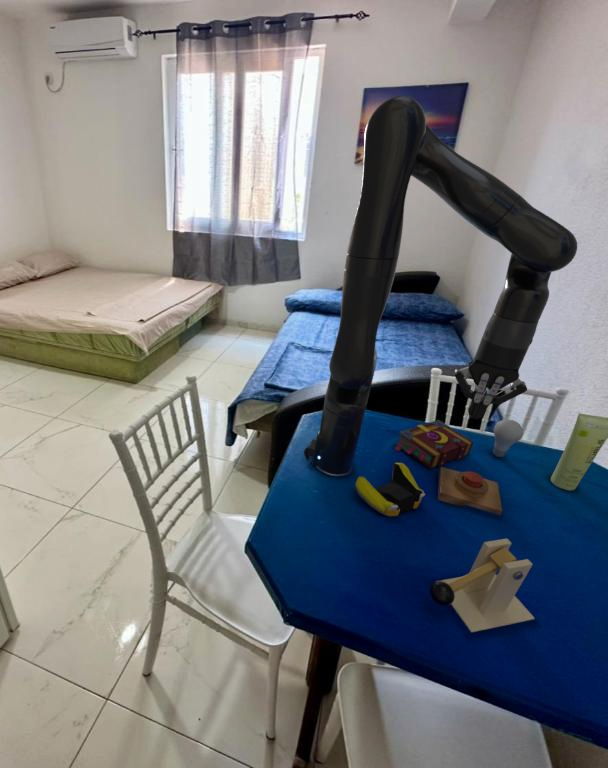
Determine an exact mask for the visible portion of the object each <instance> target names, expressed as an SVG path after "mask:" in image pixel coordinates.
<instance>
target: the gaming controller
mask: <svg viewBox="0 0 608 768" xmlns="http://www.w3.org/2000/svg"><path fill="white" fill-rule="evenodd" d="M391 475H392V476H391V481H390V482H388V483H385V484H383V485H380V486H377V487H374V486H373V485H372V484H371V483H370V481H369V480H367V478H366V477H364V476H358V477H357V479H356V481H355V484H354V485H355V486H354V488H355V490H356V492H357V494H358V496H359V497H360V498H361V499H362V500H363V501H364V502H365V503H366V504H367V505H368V506H369V507H370V508H373V509H374V510H375V511H377V512H378V513H380V514H382V515H383V516H385V517H397V516H399V515H402V514H404V513H406V512H409V511H410V510H413V509H418V507H419V506H420V504H421V502H422V501H423V500H422V499H423V497H424V496H426V493H425V492H424V490H423V489H421V488H420V487H419V486H418V483H417V482H416V480H415V478H414V476H413V474H412V473H411V471H410V468H409V467H408V466H407V465H406V464H404V463H403V462H395V463H394V464H393V466H392V474H391Z"/></svg>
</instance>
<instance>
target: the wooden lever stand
mask: <svg viewBox="0 0 608 768" xmlns="http://www.w3.org/2000/svg"><path fill="white" fill-rule="evenodd" d="M511 546H512V542H511V541H510V540H509V539H508V538H501V539H495V540H488V541H484V542H483V544H482V545H481V547H480V550H479V551H478V554H477V556H476V557H475V560H474V562H473V564H472V566H471V567H470V571H469V573H471V572H472V571H474V570H476V569H478V568H480V567H482V566H484V565H486V564H487V563H489V562H491V558H490V555H491V554H493V553H495V552H497V551H499V550H501V549H503V548H505V547H506V548H507V549H508V550H509V549H510V547H511ZM532 567H533V563H532V562H531V561H530V560H529V559H528V558H526V559H519V560H517V561H514V562H508V563H504V564H503V565H502V567H501V569H500V571H499V570H496V571H494V572H492V573H491V574H489V575H487V576H485V577H483V578H481V579H479V580H477V581H476V582H474V583H472V584H470V585H468V586H466V587H464V588H462V589H460V590H459V591H457V592H455V593H454V594H455V599H454V601H453V603H452V604H451V605H450V606H451V607H452V608H453V609H454V610H455V612H456V614H457V615H458V616H459V617H460V619H461V620H462V622H463V623H464V625H465V627H467V629H468V630H469V632H470V633H477V632H481V631H486V630H491V629H495V628H500V627H504V626H510V625H514V624H518V623H523V622H528V621H533V620H535V617H534V615H532V613H531V612H530V611H529V610H528V608H526V606H525V605H524V604H523V603H522V602H521V600H520V599H518V598H517V596H516V594H517V592H518V591H519V589H520V587H521V585H522V584H523V582H524V581H525V579H526V577H527V576H528V573H529V572H530V570H531V568H532ZM497 572H498V573H497ZM461 577H462V576H457V577H452V578H446V579H441V580H440V581H442V582H445V583H447V584H450V583H452V582H454V581H456V580H457V579H459V578H461ZM437 581H438V580H436V581H435V582H437Z"/></svg>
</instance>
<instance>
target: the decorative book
mask: <svg viewBox="0 0 608 768" xmlns="http://www.w3.org/2000/svg"><path fill="white" fill-rule="evenodd" d="M398 436H400V438H399V441H396V442H395V443H394V444H395V448H394V450H396V451H398V452H399V451H401V450H402V451H404V452H405V453H407V454H408V455H410V456H412V457H413V458H414V459H416V460H417V461H419V462H420V463H421V464H423V465H424V466H426V467H427V468H429V469H433V468H435V467H438V468H441V467H444V466H445V464H446V463H448V462H452V461H454V460H456V461H458V460H461V459H463V457H464V456H467V455H469V454H470V452H471V450H472V449H473V445H474V441H473V440H472V439H469V438H468V437H467V436H464V435H463V434H461V433H459V432H458V431H456V430H455V429H453V428H451V426H449V425H448V424H446V423H445V422H443V421H442V420H439V419H436V420H433V421H430V422H428V423H427V424H417V425H416V427H414V428H407V429H405V430H400V431H399V432H398Z"/></svg>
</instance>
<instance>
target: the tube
mask: <svg viewBox="0 0 608 768" xmlns="http://www.w3.org/2000/svg"><path fill="white" fill-rule="evenodd" d="M607 440H608V417H606V416H599V415H592V414H585V413H578V415H577V417H576V420H575V423H574V426H573V429H572V430H571V433H570V436H569V438H568V440H567V443H566V445H565V447H564V450H563V452H562V454H561V456H560V458H559V461H558V463H557V464H556V466H555V469H554V471H553V473H552V475H551V477H550V481H551V483H552V484H553V485H554V486H555V487H557V488H559V489H563V490H565V491H575V490H576V489H577V488H578V486H579V484H580V483H581V481H582V479H583V478H584V476H585V474H586V472H587V471H588V469H589V468H590V467H591V464H592V463H593V461H594V460H595V458H596V456H597V455H598V454H599V452H600V450H601V449H602V448H603V446H604V445H605V443H606V442H607Z"/></svg>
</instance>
